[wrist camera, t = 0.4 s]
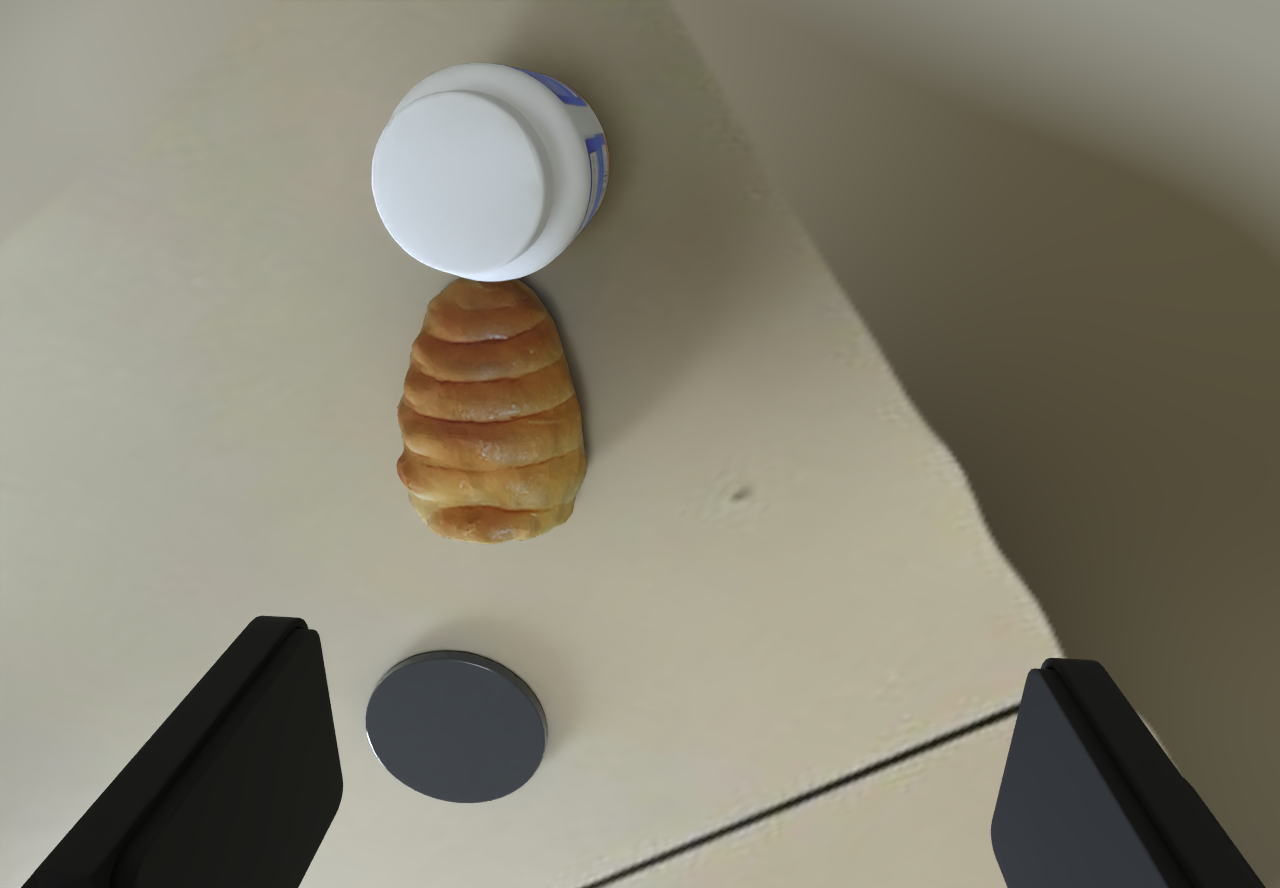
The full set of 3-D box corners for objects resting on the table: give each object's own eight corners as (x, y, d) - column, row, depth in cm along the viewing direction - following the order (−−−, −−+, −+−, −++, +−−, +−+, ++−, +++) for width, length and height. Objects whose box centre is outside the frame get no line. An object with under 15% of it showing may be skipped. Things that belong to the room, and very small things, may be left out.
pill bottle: (419, 133, 27) (283, 144, 18) (553, 37, 26) (478, -3, 17) (513, 273, 29) (430, 348, 20) (644, 189, 27) (618, 228, 18)
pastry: (399, 266, 29) (359, 288, 25) (589, 273, 29) (576, 295, 25) (420, 505, 32) (387, 553, 29) (590, 512, 32) (578, 562, 29)
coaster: (362, 643, 35) (357, 652, 35) (547, 657, 35) (545, 666, 34) (377, 786, 38) (372, 796, 38) (547, 800, 38) (545, 810, 37)
